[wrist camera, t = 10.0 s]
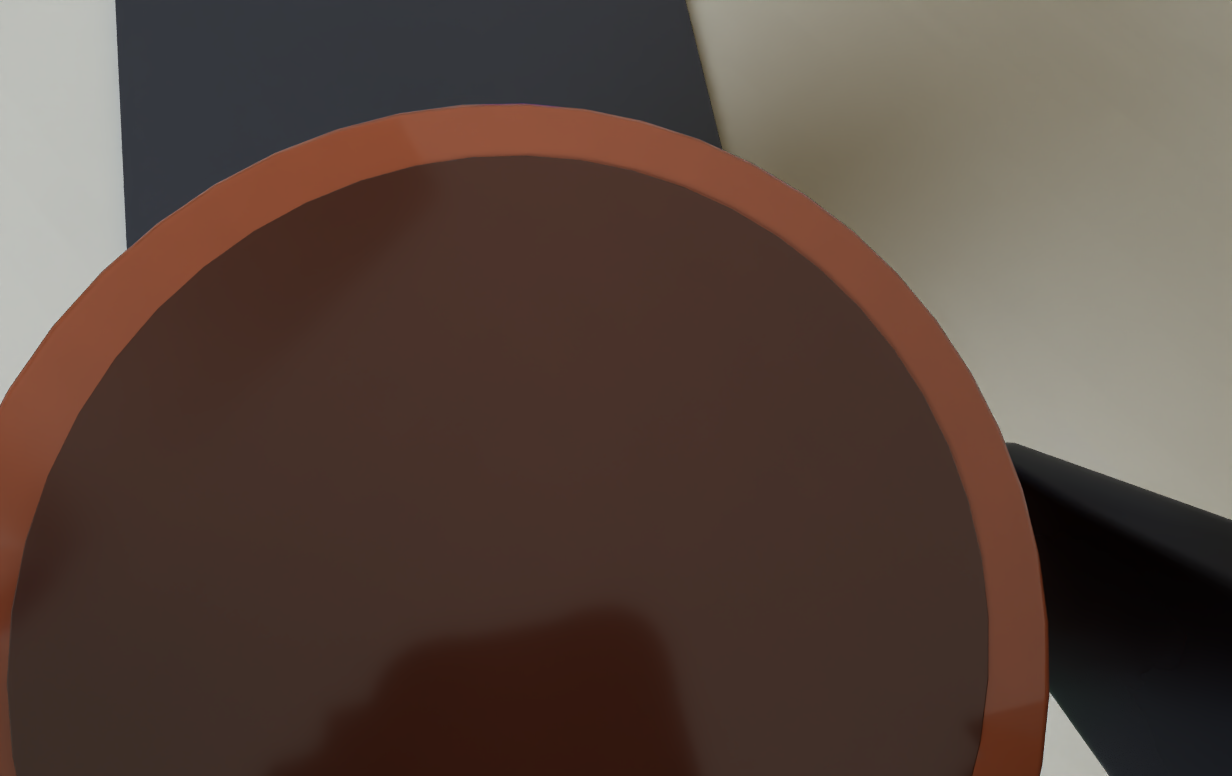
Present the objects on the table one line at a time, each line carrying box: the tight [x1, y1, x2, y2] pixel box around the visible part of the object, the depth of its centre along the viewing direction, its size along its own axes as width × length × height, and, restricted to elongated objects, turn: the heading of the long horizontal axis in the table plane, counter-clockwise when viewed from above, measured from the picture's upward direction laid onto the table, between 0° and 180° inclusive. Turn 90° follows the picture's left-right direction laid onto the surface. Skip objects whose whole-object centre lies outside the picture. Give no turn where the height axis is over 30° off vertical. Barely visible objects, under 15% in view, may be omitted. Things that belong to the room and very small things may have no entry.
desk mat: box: [115, 0, 722, 249], centre depth 17 cm, size 21×13×1 cm, turn 11°
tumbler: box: [0, 103, 1049, 776], centre depth 10 cm, size 7×7×11 cm
